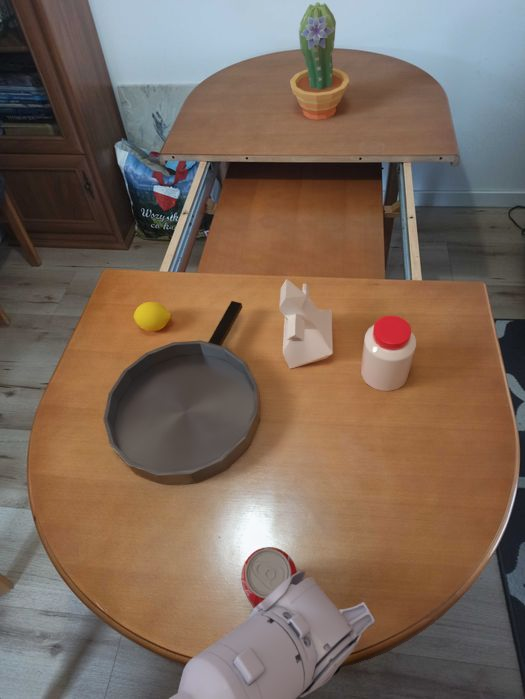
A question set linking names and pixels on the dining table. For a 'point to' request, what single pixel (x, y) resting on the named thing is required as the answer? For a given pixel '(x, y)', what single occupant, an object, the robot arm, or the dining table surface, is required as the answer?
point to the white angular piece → (304, 327)
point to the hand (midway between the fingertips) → (308, 660)
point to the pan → (184, 409)
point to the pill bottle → (387, 353)
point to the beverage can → (265, 573)
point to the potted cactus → (318, 65)
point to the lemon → (151, 316)
